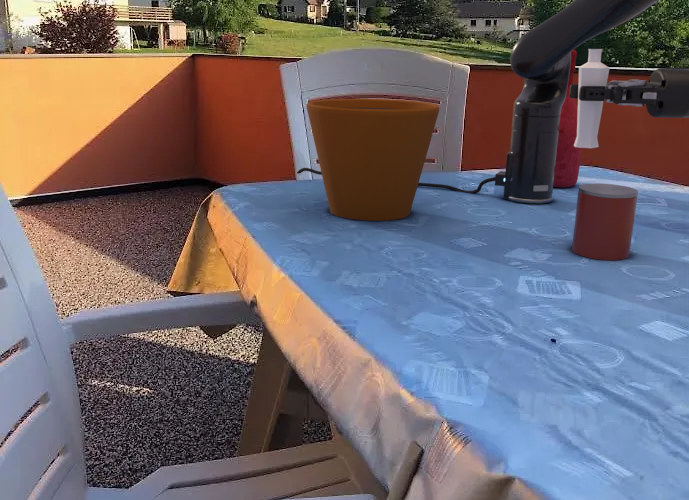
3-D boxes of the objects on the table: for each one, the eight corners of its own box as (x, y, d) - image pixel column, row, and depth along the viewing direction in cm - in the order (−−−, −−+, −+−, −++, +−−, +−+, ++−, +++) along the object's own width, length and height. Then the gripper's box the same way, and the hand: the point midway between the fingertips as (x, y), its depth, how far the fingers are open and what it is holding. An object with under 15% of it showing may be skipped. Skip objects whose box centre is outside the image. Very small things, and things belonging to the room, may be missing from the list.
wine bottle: (580, 183, 165) (595, 49, 157) (574, 190, 157) (590, 49, 148) (537, 179, 169) (549, 48, 161) (529, 186, 160) (542, 48, 152)
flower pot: (288, 221, 125) (287, 105, 119) (327, 195, 147) (328, 96, 141) (421, 232, 119) (428, 111, 113) (441, 203, 141) (447, 101, 135)
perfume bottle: (603, 149, 111) (613, 49, 106) (574, 148, 111) (583, 49, 107) (599, 145, 115) (609, 49, 111) (570, 144, 116) (579, 49, 112)
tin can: (567, 255, 108) (575, 190, 105) (576, 242, 115) (583, 181, 112) (626, 263, 104) (635, 196, 101) (631, 249, 111) (639, 186, 109)
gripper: (667, 67, 116) (563, 66, 116) (710, 70, 103) (592, 69, 103) (661, 113, 119) (559, 112, 119) (702, 122, 105) (586, 121, 105)
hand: (575, 92), depth 111 cm, fingers closed on perfume bottle, 4 cm apart
